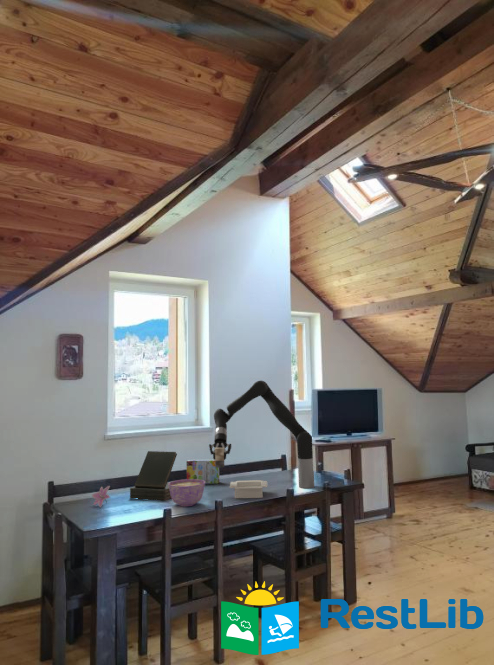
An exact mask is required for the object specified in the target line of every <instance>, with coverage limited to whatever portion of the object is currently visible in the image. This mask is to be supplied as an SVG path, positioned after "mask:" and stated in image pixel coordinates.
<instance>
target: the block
mask: <svg viewBox="0 0 494 665" xmlns="http://www.w3.org/2000/svg"><path fill="white" fill-rule="evenodd" d="M214 450H215V468H219V469H220V468H221V469H222V468H225V460H224V447H218V448H214Z"/></svg>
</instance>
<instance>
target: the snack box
mask: <svg viewBox="0 0 494 665" xmlns="http://www.w3.org/2000/svg"><path fill="white" fill-rule="evenodd" d="M186 479H199V480H204V481H205V485H206V484H210V485H211V484H216V485H217V484H219V483H220V468H215V460H214V459H213V458H212V459H188V460H186Z"/></svg>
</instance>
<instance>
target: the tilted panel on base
mask: <svg viewBox="0 0 494 665" xmlns="http://www.w3.org/2000/svg"><path fill="white" fill-rule="evenodd" d="M177 455H178V453H177V452H176V451H159V450H157V451H153V450H152V451H150V450H148V451H147V453H146V456H145V458H144V461H143V463H142V464H141V468H140V470H139V473H138V474H137V475H138V476H137V478H136V481H135V483H134V486H133V487H130V488H129V499H130V498H138V499H137V500H143V499H148V500H147V501H161V502H165V501H167V500H170V499H172V498H171V494H170V490H169V486H168V483H169V482H168V481H169V479H170V476H171V472H172V470H173V467H174V464H175V461H176V458H177Z"/></svg>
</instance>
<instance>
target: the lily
mask: <svg viewBox="0 0 494 665" xmlns="http://www.w3.org/2000/svg"><path fill="white" fill-rule="evenodd" d="M110 487H111V486H110V485H107V486H106V487H103V486H101V487H100V488H99V491H96V492H94V493H92V494H91V497H92V498H93V499H94V500H95V501H94V502H93V504H92V506H93V505H94V506H95V505H97V506H98V507H99V508H102V506H103V502H104V500H105V501H106V503H108V501H107V499H109V498H111V496H110V495H109V494H108V490H110Z"/></svg>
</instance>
